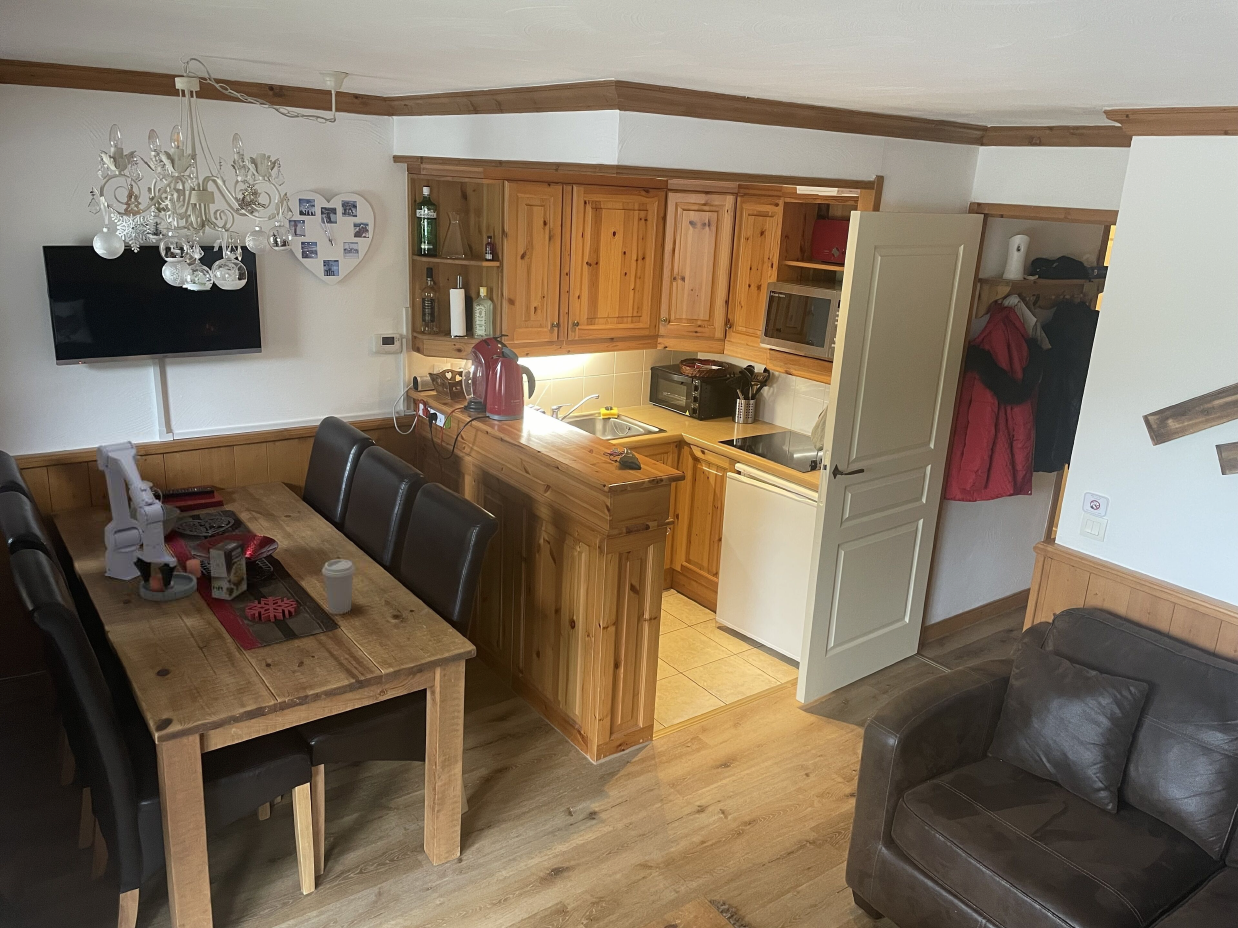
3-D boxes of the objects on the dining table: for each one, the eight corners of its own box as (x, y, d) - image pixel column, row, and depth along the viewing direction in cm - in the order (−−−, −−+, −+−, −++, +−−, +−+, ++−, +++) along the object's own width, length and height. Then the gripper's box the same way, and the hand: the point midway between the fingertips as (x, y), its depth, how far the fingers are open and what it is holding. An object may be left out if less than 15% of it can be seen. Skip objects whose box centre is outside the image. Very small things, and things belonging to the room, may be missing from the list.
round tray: (127, 595, 281) (127, 587, 280) (167, 576, 295) (166, 569, 295) (170, 604, 276) (169, 597, 276) (208, 585, 291) (207, 577, 290)
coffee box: (230, 600, 282) (227, 551, 277) (211, 597, 283) (208, 548, 278) (247, 588, 290) (245, 541, 286) (229, 586, 291) (226, 538, 287)
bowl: (186, 543, 322) (184, 516, 319) (126, 552, 312) (123, 524, 309) (176, 526, 337) (174, 501, 334) (118, 534, 326) (116, 508, 324)
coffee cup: (346, 600, 286) (345, 555, 282) (361, 610, 280) (360, 565, 276) (317, 608, 280) (316, 562, 276) (332, 619, 273) (331, 573, 269)
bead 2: (184, 576, 296) (183, 562, 294) (193, 572, 300) (192, 558, 298) (194, 579, 295) (193, 564, 293) (203, 574, 298) (202, 560, 297)
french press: (129, 516, 343) (123, 453, 336) (164, 514, 348) (158, 451, 341) (128, 525, 335) (122, 460, 328) (163, 522, 340) (158, 458, 333)
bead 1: (148, 593, 280) (146, 578, 279) (157, 588, 284) (156, 573, 283) (158, 595, 279) (157, 580, 278) (168, 590, 283) (167, 575, 282)
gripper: (183, 541, 279) (186, 582, 282) (144, 534, 283) (148, 574, 286) (165, 549, 272) (169, 591, 276) (126, 541, 276) (130, 583, 280)
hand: (157, 583), depth 281 cm, fingers open, 7 cm apart
